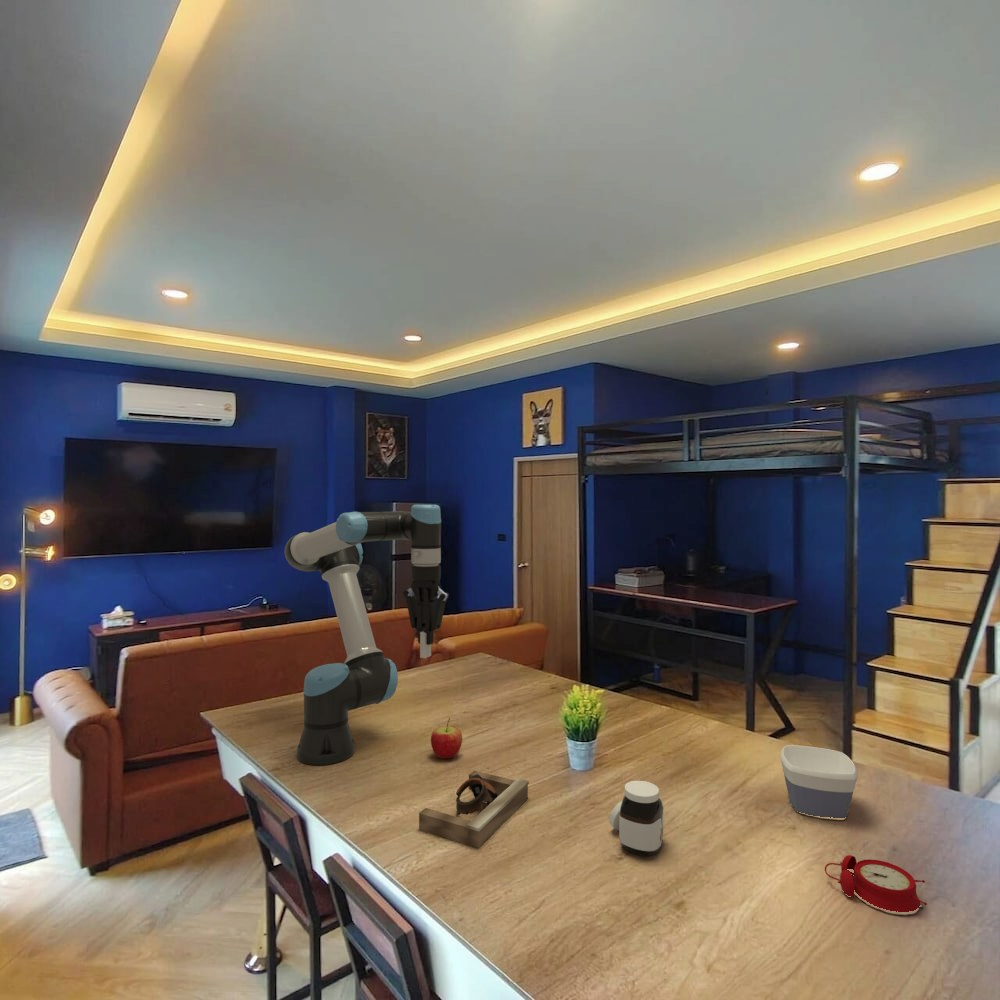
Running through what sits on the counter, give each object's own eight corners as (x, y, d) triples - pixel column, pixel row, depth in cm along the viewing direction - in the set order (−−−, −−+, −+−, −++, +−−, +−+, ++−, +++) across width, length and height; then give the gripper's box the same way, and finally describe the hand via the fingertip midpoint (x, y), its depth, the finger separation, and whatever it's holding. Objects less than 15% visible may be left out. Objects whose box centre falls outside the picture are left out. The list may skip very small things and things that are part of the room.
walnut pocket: (418, 830, 129) (418, 810, 129) (474, 784, 150) (474, 767, 150) (478, 848, 122) (478, 828, 122) (528, 798, 143) (528, 780, 143)
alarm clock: (930, 906, 100) (829, 857, 108) (919, 940, 101) (820, 889, 109) (926, 873, 109) (833, 830, 117) (917, 904, 110) (825, 860, 117)
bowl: (848, 797, 144) (848, 750, 144) (864, 831, 129) (864, 778, 129) (777, 787, 149) (777, 741, 149) (784, 818, 134) (784, 767, 134)
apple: (467, 753, 168) (467, 717, 168) (452, 765, 160) (452, 727, 160) (441, 748, 171) (441, 712, 171) (425, 760, 163) (425, 722, 163)
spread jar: (652, 864, 117) (652, 803, 117) (597, 846, 123) (597, 788, 123) (670, 835, 127) (670, 779, 127) (619, 820, 133) (619, 766, 133)
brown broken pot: (507, 822, 133) (492, 795, 131) (468, 842, 133) (452, 815, 130) (498, 783, 145) (484, 758, 142) (462, 801, 144) (447, 776, 142)
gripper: (396, 564, 156) (396, 656, 156) (439, 567, 150) (438, 663, 150) (413, 561, 163) (413, 650, 163) (455, 564, 157) (455, 656, 157)
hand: (425, 656), depth 157 cm, fingers closed
